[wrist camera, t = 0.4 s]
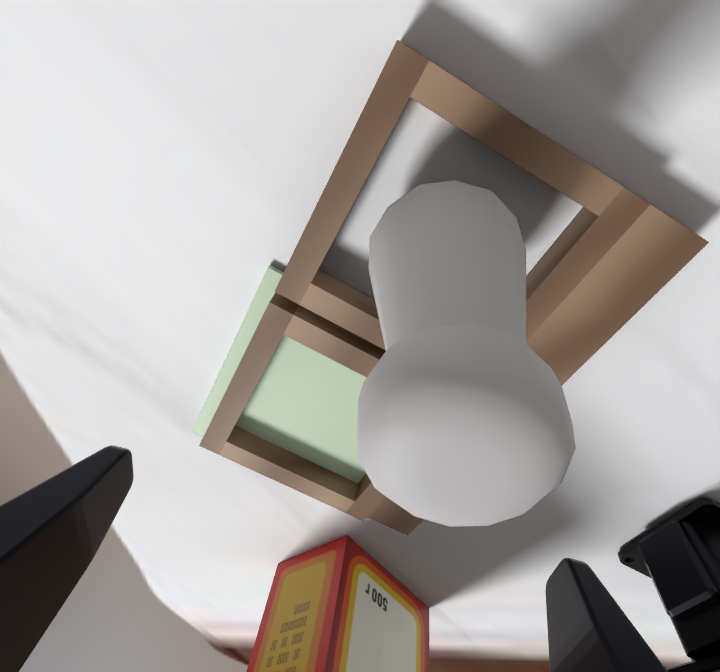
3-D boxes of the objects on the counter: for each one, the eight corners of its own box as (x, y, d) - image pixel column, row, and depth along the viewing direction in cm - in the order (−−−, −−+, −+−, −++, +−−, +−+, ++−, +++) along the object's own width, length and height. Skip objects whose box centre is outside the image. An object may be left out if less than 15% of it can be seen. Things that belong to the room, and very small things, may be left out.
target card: (488, 382, 23) (488, 385, 23) (371, 511, 29) (370, 515, 29) (269, 264, 21) (268, 267, 21) (193, 428, 27) (191, 432, 27)
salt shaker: (379, 161, 18) (307, 319, 7) (527, 171, 18) (695, 357, 7) (371, 294, 21) (312, 550, 10) (497, 306, 21) (578, 587, 10)
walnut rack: (692, 231, 18) (714, 245, 17) (408, 518, 29) (407, 541, 28) (399, 41, 16) (397, 39, 15) (210, 425, 27) (199, 445, 25)
